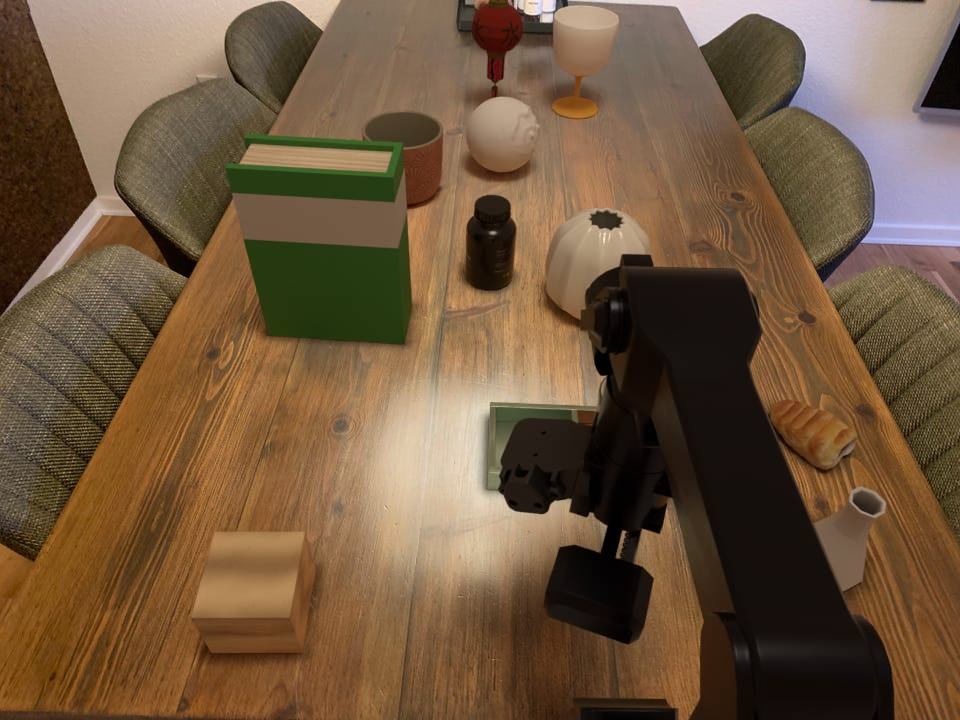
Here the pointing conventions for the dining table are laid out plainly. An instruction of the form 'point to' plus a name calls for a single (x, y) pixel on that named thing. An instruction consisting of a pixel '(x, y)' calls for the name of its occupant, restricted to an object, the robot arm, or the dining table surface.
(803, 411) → the pastry
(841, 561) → the flask
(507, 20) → the lantern
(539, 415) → the tray
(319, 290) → the hardback book
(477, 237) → the supplement bottle
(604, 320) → the robot arm
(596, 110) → the cup
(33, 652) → the dining table surface
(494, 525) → the dining table surface
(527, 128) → the decorative ball
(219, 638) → the riser
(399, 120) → the planter
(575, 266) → the vase
